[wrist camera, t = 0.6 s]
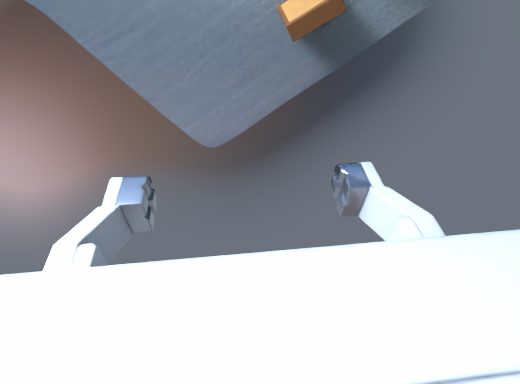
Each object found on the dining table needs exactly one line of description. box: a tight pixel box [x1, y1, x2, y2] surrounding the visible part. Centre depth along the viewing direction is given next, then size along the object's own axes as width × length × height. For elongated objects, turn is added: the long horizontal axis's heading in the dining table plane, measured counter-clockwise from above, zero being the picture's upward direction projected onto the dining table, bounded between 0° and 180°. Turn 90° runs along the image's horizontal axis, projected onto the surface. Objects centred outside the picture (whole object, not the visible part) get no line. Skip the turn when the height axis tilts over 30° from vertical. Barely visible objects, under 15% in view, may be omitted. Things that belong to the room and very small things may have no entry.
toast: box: [277, 0, 346, 42], centre depth 45 cm, size 8×2×8 cm, turn 119°
